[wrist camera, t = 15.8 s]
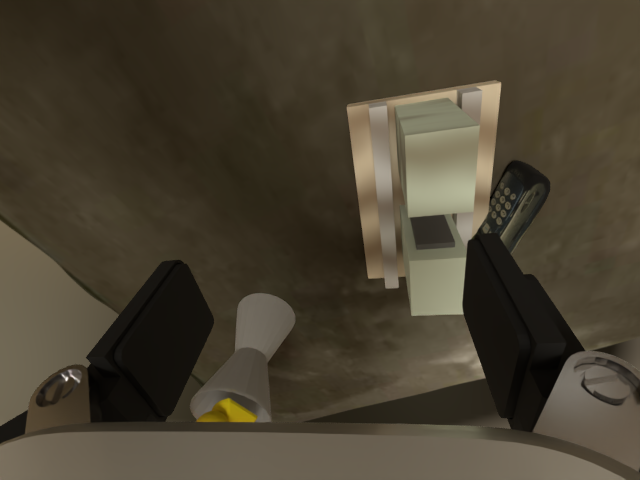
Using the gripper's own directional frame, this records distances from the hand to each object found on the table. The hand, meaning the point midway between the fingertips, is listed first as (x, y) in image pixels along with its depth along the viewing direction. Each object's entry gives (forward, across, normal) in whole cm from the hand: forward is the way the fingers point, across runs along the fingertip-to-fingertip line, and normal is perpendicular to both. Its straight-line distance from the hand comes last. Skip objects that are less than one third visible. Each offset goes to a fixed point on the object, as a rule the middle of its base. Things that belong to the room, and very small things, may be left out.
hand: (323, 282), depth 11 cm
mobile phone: (+24, -14, +14) cm, 31 cm away
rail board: (+24, -7, +10) cm, 27 cm away
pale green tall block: (+23, -7, +13) cm, 27 cm away
